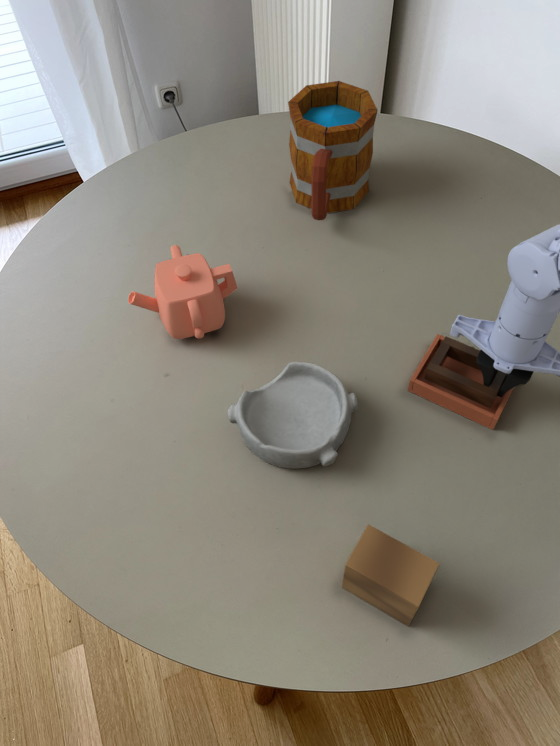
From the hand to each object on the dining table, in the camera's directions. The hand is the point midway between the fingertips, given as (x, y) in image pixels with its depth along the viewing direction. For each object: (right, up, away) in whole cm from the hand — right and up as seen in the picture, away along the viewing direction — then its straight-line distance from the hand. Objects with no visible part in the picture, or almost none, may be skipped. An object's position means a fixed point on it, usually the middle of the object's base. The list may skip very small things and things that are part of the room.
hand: (495, 387), depth 83 cm
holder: (-3, 0, +3) cm, 5 cm away
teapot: (-41, +10, +11) cm, 43 cm away
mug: (-20, +31, +25) cm, 44 cm away
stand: (-16, -21, -12) cm, 29 cm away
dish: (-25, -5, 0) cm, 26 cm away
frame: (-3, +1, +1) cm, 4 cm away
